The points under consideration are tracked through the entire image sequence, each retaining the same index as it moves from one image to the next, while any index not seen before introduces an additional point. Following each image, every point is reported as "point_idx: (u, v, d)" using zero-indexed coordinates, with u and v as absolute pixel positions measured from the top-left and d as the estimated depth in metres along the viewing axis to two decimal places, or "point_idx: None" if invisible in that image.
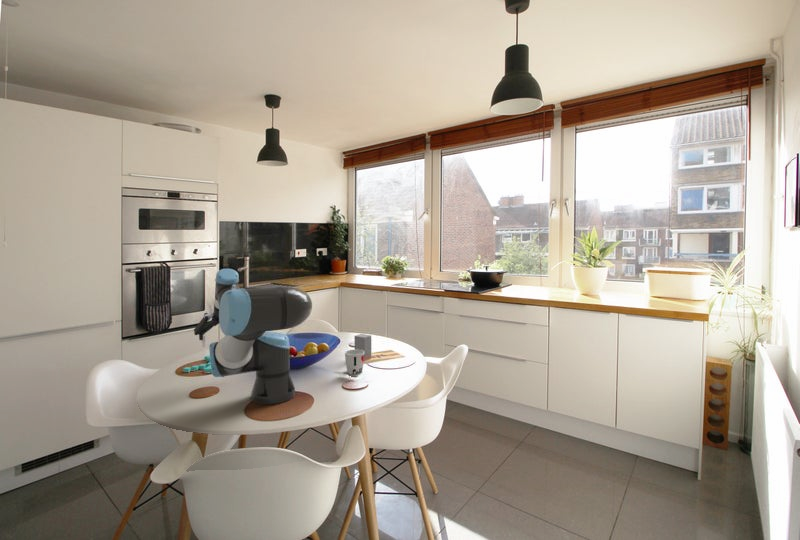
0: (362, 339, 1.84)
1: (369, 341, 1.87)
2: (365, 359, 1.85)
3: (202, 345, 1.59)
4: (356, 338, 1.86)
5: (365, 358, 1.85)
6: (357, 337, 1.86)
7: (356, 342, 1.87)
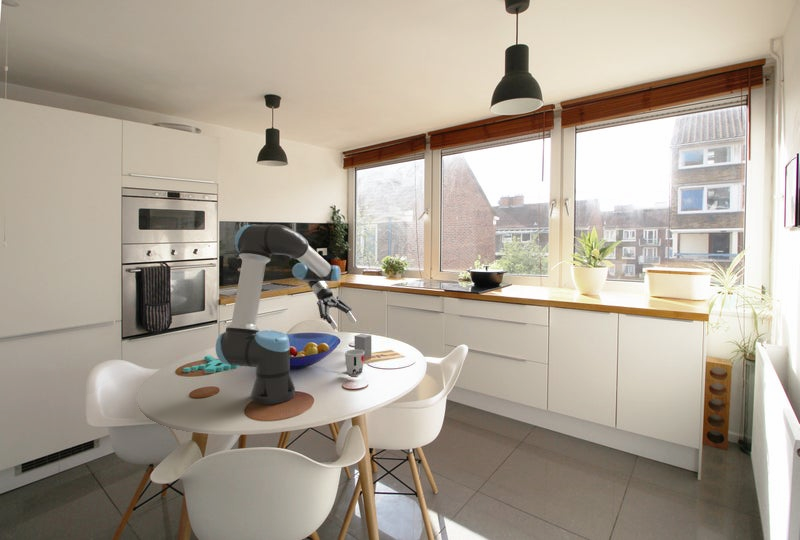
0: (362, 339, 1.84)
1: (369, 341, 1.87)
2: (365, 359, 1.85)
3: (335, 326, 1.87)
4: (356, 338, 1.86)
5: (365, 358, 1.85)
6: (357, 337, 1.86)
7: (356, 342, 1.87)
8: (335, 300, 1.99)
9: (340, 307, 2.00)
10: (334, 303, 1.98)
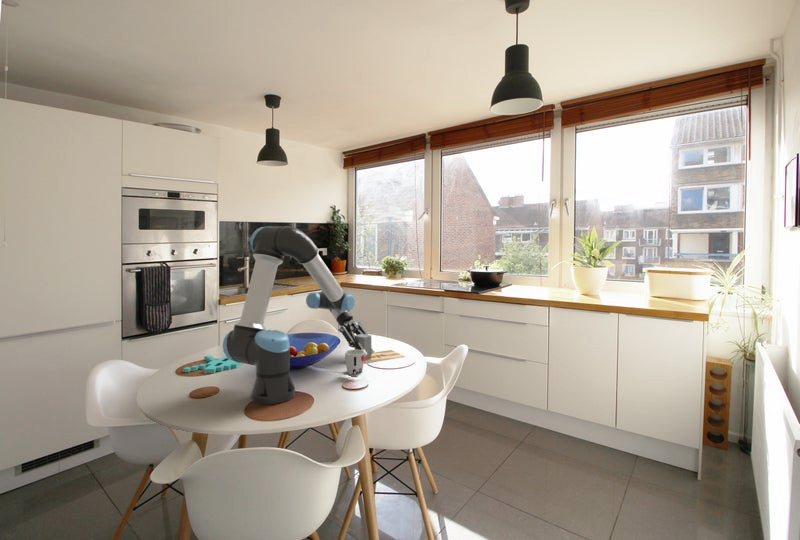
0: (362, 339, 1.84)
1: (369, 341, 1.87)
2: (365, 359, 1.85)
3: (365, 354, 1.83)
4: (356, 338, 1.86)
5: (365, 358, 1.85)
6: (357, 337, 1.86)
7: None
8: (355, 325, 1.92)
9: (358, 333, 1.91)
10: (354, 327, 1.91)
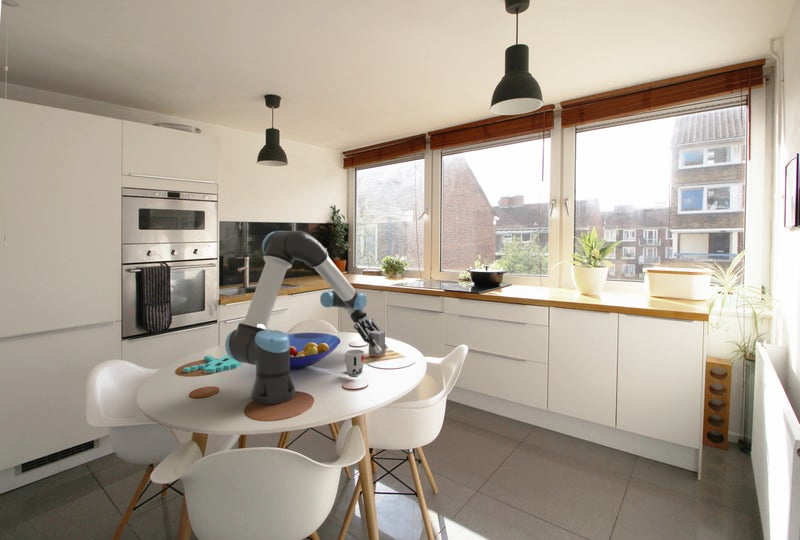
0: (376, 335, 1.89)
1: (383, 337, 1.91)
2: (379, 355, 1.89)
3: (379, 350, 1.87)
4: (370, 334, 1.91)
5: (379, 354, 1.89)
6: (371, 333, 1.90)
7: None
8: (369, 321, 1.96)
9: (372, 330, 1.96)
10: (368, 324, 1.96)
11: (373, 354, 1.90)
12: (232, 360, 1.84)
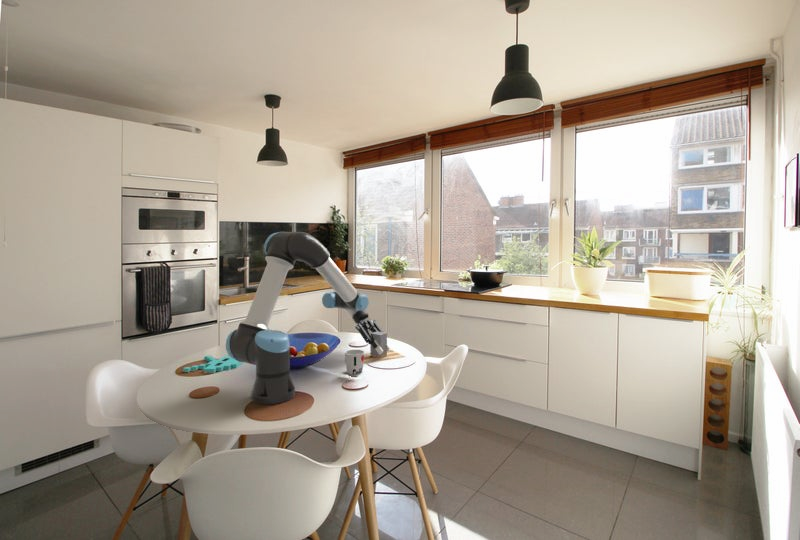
0: (378, 336, 1.89)
1: (384, 338, 1.91)
2: (381, 356, 1.89)
3: (381, 351, 1.87)
4: (372, 335, 1.91)
5: (381, 355, 1.89)
6: (373, 334, 1.90)
7: None
8: (371, 322, 1.96)
9: (374, 331, 1.96)
10: (370, 325, 1.96)
11: (375, 355, 1.90)
12: (232, 360, 1.84)
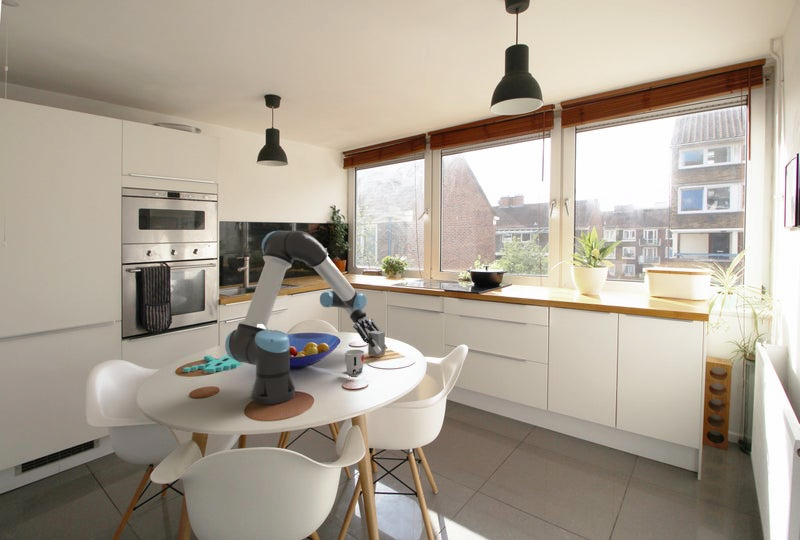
0: (376, 335, 1.89)
1: (382, 337, 1.91)
2: (379, 355, 1.89)
3: (379, 350, 1.87)
4: (370, 334, 1.90)
5: (379, 354, 1.89)
6: (371, 334, 1.90)
7: None
8: (368, 321, 1.96)
9: (372, 330, 1.95)
10: (368, 324, 1.95)
11: (373, 354, 1.90)
12: (232, 360, 1.84)
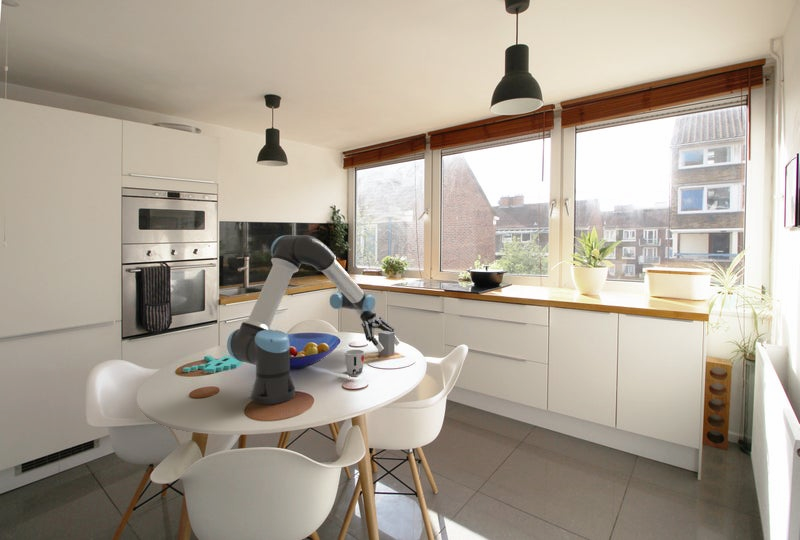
0: (386, 335, 1.91)
1: (392, 337, 1.93)
2: (389, 355, 1.91)
3: (381, 348, 1.87)
4: (380, 335, 1.93)
5: (389, 354, 1.91)
6: (381, 334, 1.92)
7: (380, 338, 1.93)
8: (378, 321, 1.99)
9: (383, 328, 2.00)
10: (378, 324, 1.98)
11: (383, 354, 1.93)
12: (232, 360, 1.84)
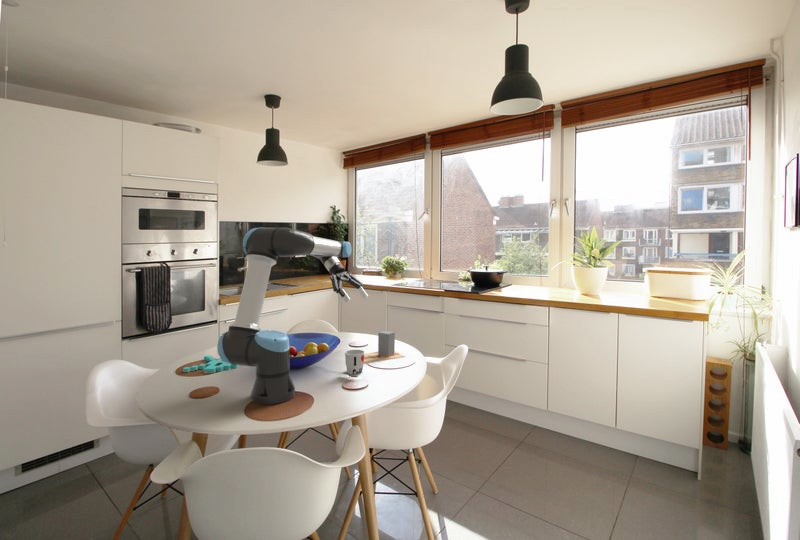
0: (386, 335, 1.91)
1: (392, 337, 1.93)
2: (389, 355, 1.91)
3: (348, 299, 1.92)
4: (380, 335, 1.93)
5: (389, 354, 1.91)
6: (381, 334, 1.92)
7: (380, 338, 1.93)
8: (347, 275, 2.04)
9: (352, 282, 2.05)
10: (346, 278, 2.03)
11: (383, 354, 1.93)
12: None
